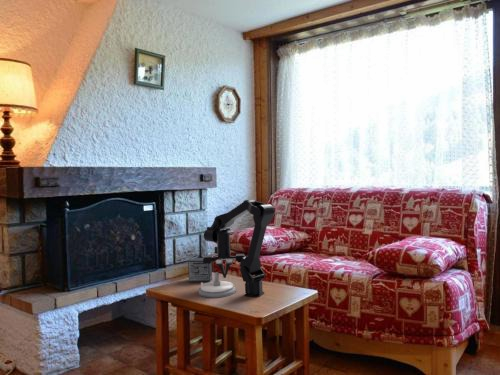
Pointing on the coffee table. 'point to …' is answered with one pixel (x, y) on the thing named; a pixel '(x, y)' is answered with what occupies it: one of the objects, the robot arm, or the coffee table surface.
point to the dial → (216, 285)
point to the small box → (199, 270)
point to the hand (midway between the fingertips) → (224, 277)
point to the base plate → (215, 295)
